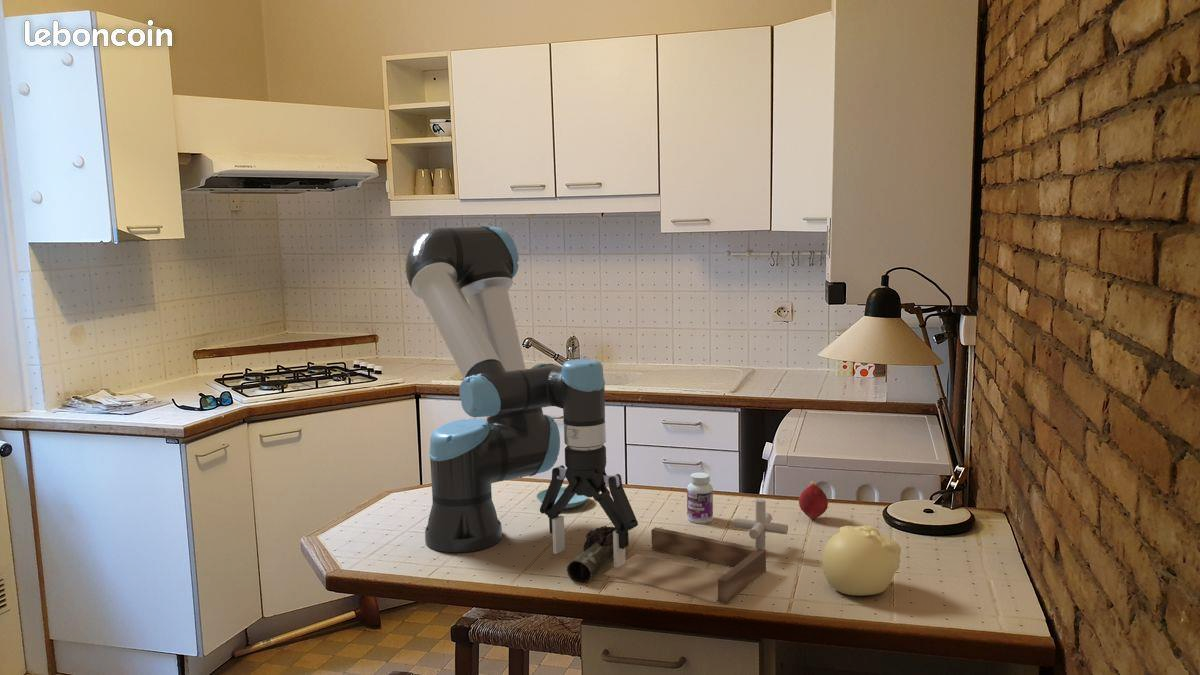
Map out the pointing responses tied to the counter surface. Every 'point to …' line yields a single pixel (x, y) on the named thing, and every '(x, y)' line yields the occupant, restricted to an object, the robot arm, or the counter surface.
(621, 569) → the mat
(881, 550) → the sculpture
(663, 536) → the corner wall
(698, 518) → the pill bottle
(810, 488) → the onion
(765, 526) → the pipe connector
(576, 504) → the saucer
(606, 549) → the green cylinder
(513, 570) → the counter surface
